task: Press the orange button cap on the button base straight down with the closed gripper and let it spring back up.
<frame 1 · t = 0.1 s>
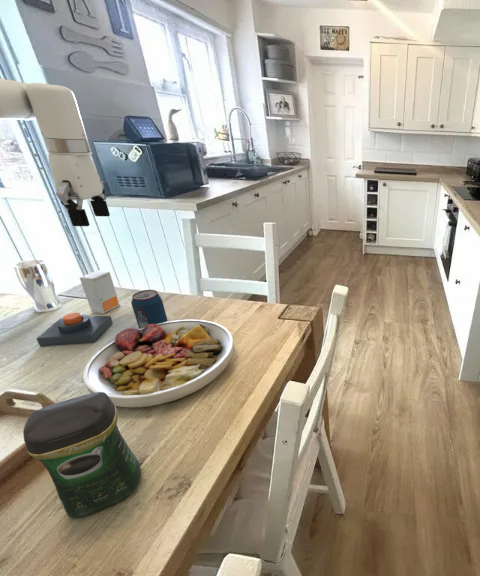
hand: (92, 220, 81), 31 cm above the table, tool pointing down, fingers open, 9 cm apart
button base: (78, 334, 90), on the table
coffee jar: (106, 491, 53), on the table
white plate of food: (169, 368, 80), on the table
soda can: (155, 331, 94), on the table
beer glass: (49, 308, 101), on the table
orange button cap: (72, 318, 88), point 5 cm above the table, slide at 0.1 cm
cosmetic box: (106, 309, 102), on the table
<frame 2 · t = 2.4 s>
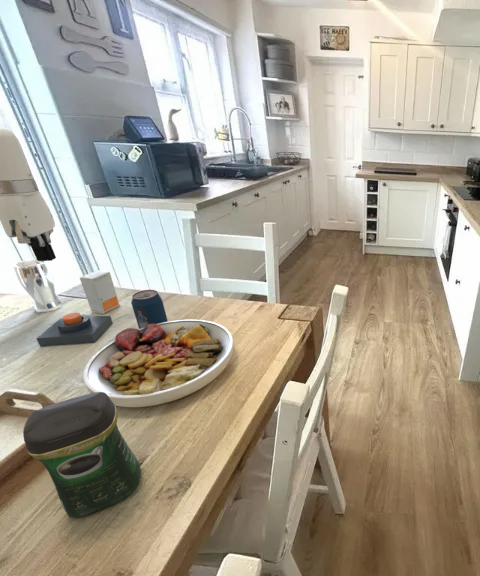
hand: (47, 259, 84), 21 cm above the table, tool pointing down, fingers closed
nothing on the table moved.
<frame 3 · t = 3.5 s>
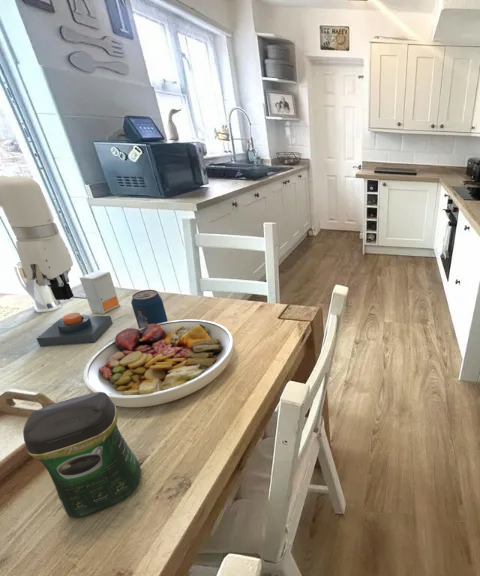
hand: (65, 298, 86), 11 cm above the table, tool pointing down, fingers closed
nothing on the table moved.
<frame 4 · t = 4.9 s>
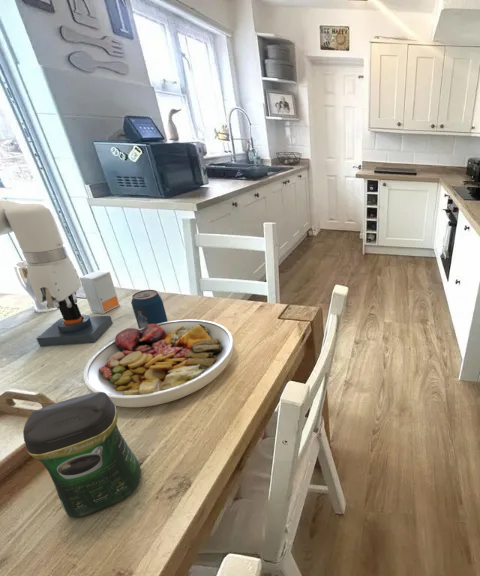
hand: (73, 318, 88), 5 cm above the table, tool pointing down, fingers closed
orange button cap: (73, 321, 88), point 4 cm above the table, slide at -0.7 cm, touching gripper
everything else where it was.
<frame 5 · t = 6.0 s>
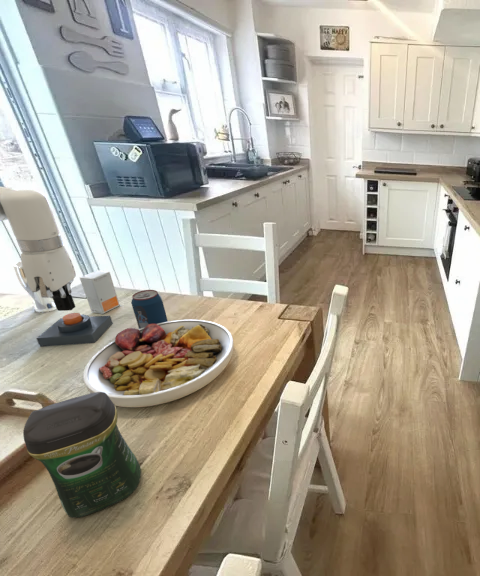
hand: (66, 308, 86), 8 cm above the table, tool pointing down, fingers closed
orange button cap: (72, 318, 88), point 5 cm above the table, slide at 0.1 cm
everything else where it was.
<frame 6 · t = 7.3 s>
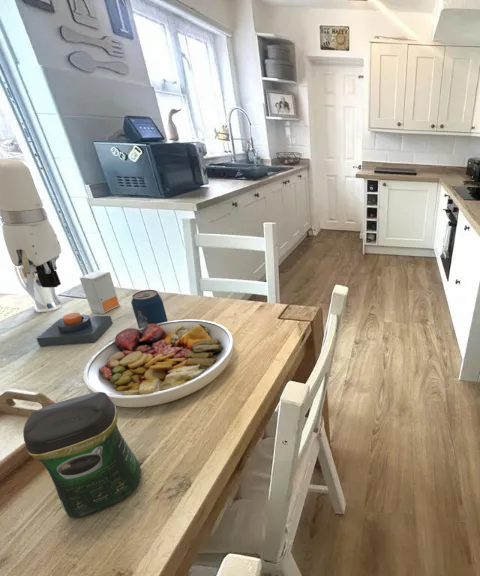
hand: (51, 285, 84), 15 cm above the table, tool pointing down, fingers closed
nothing on the table moved.
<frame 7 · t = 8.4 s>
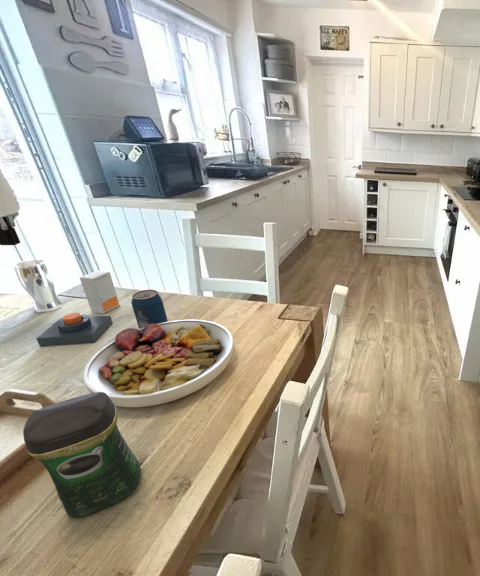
hand: (10, 244, 80), 25 cm above the table, tool pointing down, fingers closed
nothing on the table moved.
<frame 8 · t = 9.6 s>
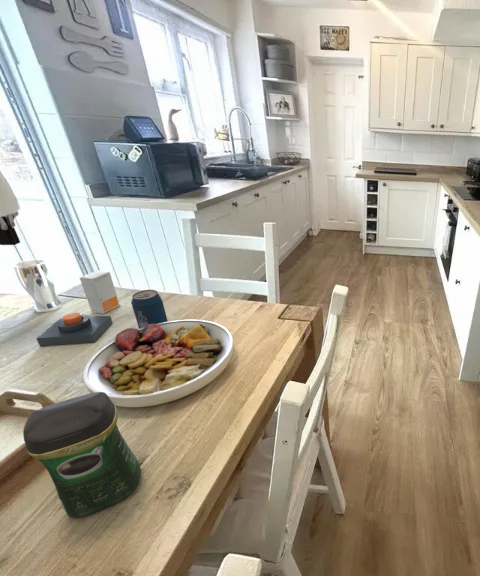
hand: (10, 243, 80), 25 cm above the table, tool pointing down, fingers closed
nothing on the table moved.
at the end: orange button cap pushed in 1.1 cm at the most during the clip, back to where it started at the end; orange button cap slide at 0.1 cm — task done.
